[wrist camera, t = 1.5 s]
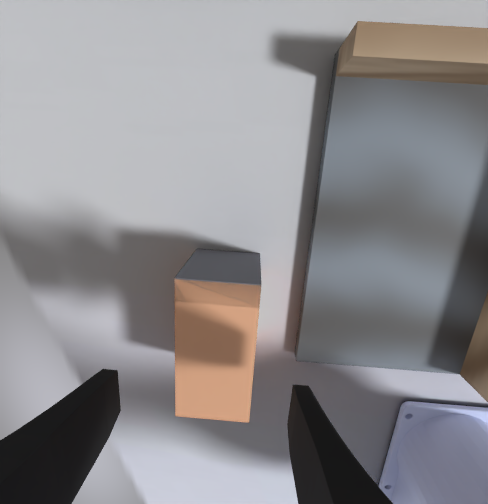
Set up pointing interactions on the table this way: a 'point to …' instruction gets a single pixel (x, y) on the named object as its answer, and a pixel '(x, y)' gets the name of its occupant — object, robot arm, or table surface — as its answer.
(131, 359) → the table surface
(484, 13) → the table surface
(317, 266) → the corner arena
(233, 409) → the terracotta bar
